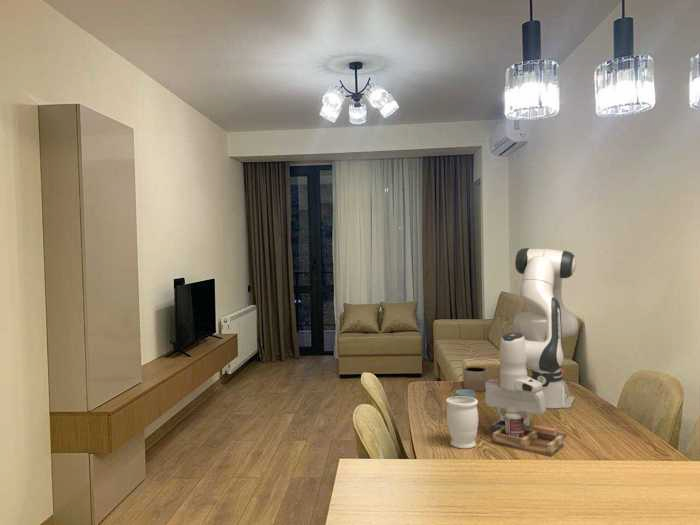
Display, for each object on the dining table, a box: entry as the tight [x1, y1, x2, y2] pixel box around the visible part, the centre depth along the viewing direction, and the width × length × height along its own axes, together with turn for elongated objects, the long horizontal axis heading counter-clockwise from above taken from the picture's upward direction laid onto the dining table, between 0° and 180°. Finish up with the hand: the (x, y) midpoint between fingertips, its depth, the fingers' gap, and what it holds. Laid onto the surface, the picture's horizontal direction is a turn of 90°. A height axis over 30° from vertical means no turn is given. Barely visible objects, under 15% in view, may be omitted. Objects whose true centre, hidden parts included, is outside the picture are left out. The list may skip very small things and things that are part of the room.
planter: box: [463, 366, 488, 393], centre depth 247 cm, size 11×11×10 cm
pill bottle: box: [504, 406, 525, 438], centre depth 176 cm, size 6×6×11 cm
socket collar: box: [490, 419, 531, 432], centre depth 189 cm, size 10×10×2 cm
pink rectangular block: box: [532, 424, 557, 436], centre depth 177 cm, size 2×7×4 cm, turn 49°
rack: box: [491, 425, 565, 457], centre depth 173 cm, size 11×20×4 cm, turn 49°
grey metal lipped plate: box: [537, 432, 568, 441], centre depth 179 cm, size 10×9×3 cm
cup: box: [454, 389, 476, 399], centre depth 203 cm, size 8×8×10 cm
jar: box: [446, 395, 479, 450], centre depth 175 cm, size 11×10×15 cm
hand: (514, 422), depth 176 cm, fingers open, 7 cm apart
